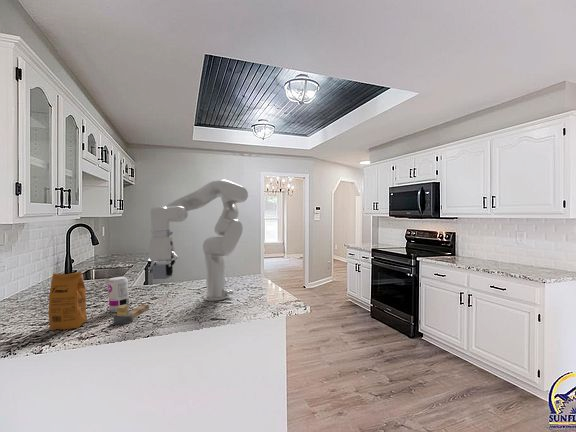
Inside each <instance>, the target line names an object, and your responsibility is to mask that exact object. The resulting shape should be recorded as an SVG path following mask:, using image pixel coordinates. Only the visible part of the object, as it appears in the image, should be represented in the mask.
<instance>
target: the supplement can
mask: <svg viewBox="0 0 576 432" xmlns="http://www.w3.org/2000/svg"><path fill="white" fill-rule="evenodd" d="M107 286H108V288H107V289H108V305H109V306H108V307H109V308H108V309H109V311H110V312H111V313H117V307H119V306H121V305H128V309H129V308H130V296H129V280H128V278H127V276H115V277H112V278H109V280H108V282H107Z"/></svg>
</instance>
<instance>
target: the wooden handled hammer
mask: <svg viewBox="0 0 576 432" xmlns="http://www.w3.org/2000/svg"><path fill="white" fill-rule="evenodd" d="M149 309H150V306H149V304H140V305H138V306H137V307H134V308H133V309H131V310H129V308H128V305H121V306H119V307H117V312H116V314H114V315H113V325H114V326H124V324H125V325H129V324H131V323H132V322H133V320H134V319H135V318H137V317H138V316H140V315H142V314H143V313H144V311H145V312H146V311H148V310H149ZM136 316H137V317H136ZM130 322H131V323H130Z"/></svg>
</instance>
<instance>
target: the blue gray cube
mask: <svg viewBox="0 0 576 432" xmlns="http://www.w3.org/2000/svg"><path fill="white" fill-rule="evenodd" d="M167 267H168V264H167V262H157V264H154V265H152V267H151V273H152V274H151V275H152V280H166V279H169V278H170V277H172V276H173V274H172V275H170V276H168V274H167Z"/></svg>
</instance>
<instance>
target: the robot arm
mask: <svg viewBox="0 0 576 432" xmlns="http://www.w3.org/2000/svg"><path fill="white" fill-rule="evenodd" d="M217 198H220V199H221V202H222V205H223V209H222V212H221V215H220V216H219V218H218V219H217V222H216V224H215V226H214V233H215V235H216V236H215V235H214V236H208V237H207V238H205V240H204V241H203V243H202V250H203V254H204V261H205V262H204V263H205V279H206V282H205V283H206V294H204V295H203V299H204V300H205V301H209V302H217V301H222V300H225V299H228V298H229V296H230V295H234V294H235V293H234V292H235V291H234V290H233V289H228V287H226V271H225V269H226V268H225V267H226V264H225V260H224V259H225V258H224V257H228V256H230V255H231V254H233V252H234V251H235V249H236V247H237V245H238V243H239V241H240V239H241V236H242V234H243V224H242V222H241V220H239V219H238V217H239V208H238V206H237V203H238V204H239V203H245V201H247V199H248V198H249V192H248V190H247V189H246V188H245V187H244V186H242V185H240V184H237V183H235V182H232V181H230V180H227V179H218V180H212V181H209V182H207V183H206V184H204V185H203V186H201V187H199V188H197V189H196V190H194V191H193V192H191V193H189V194H186V195H184V196H182V197H179V198H177V199H176V200H174V201H171V202H169V203H168V204H167V205H165V206H154V207H153V206H152V207H151V208H150V209H149V212H150V213H149V216H150V232H151V234H150V236H151V238H150V239H149V244H148V253H147V255H146V256H145V257H144V261H145V262H147V264H149V265H150V267H151V268H152V265H154V264H157V263H158V261H159V262H160V261H165V263H167V264H168V267H167V274H168V276H170V275H172V276H173V272H174V271H173V270H174V269H173V267H174V266H173V265H175V264H176V262H177V261H178V260H179V259H180V256H179V255H177V253H176V252H175V246H174V240H173V237H172V236H171V235H173V231H171V230H170V223H181V222H184V221H186V220H187V218H188V215H189V214H188V213H189V212H190V211H194V210H198V209H201V208H204V207H205V206H207V205H208V204H209V203H211V202H213V200H215V199H217Z"/></svg>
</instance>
